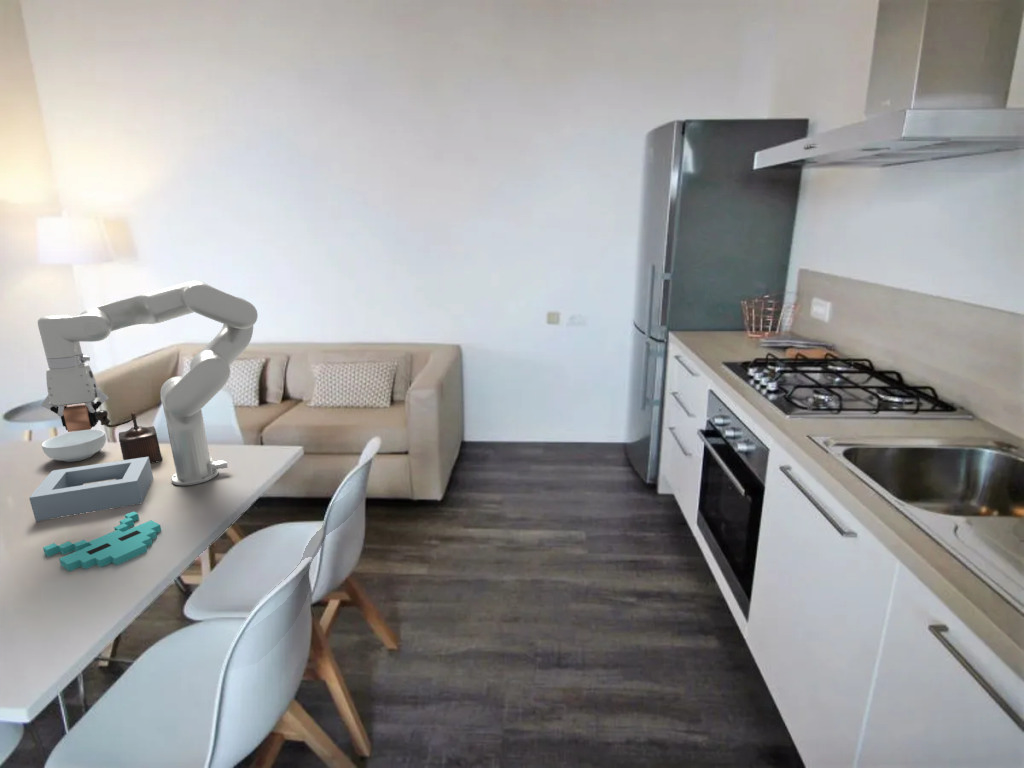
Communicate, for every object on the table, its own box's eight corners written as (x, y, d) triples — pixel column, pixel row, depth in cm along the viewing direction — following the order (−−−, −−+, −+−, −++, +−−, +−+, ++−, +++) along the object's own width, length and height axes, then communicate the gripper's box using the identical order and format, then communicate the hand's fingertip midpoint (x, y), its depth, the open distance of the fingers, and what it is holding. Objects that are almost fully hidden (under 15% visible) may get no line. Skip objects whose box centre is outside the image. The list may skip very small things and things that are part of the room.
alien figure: (45, 555, 134) (83, 582, 124) (42, 547, 133) (81, 573, 123) (135, 518, 150) (176, 539, 140) (133, 511, 150) (174, 531, 139)
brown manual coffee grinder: (159, 450, 194) (149, 400, 189) (163, 461, 185) (152, 409, 180) (105, 461, 185) (92, 410, 180) (105, 473, 177) (93, 419, 172)
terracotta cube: (95, 423, 157) (90, 403, 155) (90, 429, 152) (85, 408, 151) (74, 426, 155) (68, 405, 153) (68, 432, 151) (62, 410, 149)
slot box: (153, 477, 173) (148, 456, 171) (141, 503, 157) (136, 480, 155) (57, 492, 164) (52, 470, 162) (35, 521, 148) (29, 497, 146)
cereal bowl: (108, 443, 201) (104, 425, 199) (110, 458, 188) (105, 439, 186) (47, 455, 191) (42, 436, 189) (45, 472, 178) (39, 451, 176)
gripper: (108, 355, 155) (121, 418, 160) (31, 362, 149) (48, 427, 154) (100, 362, 148) (115, 426, 153) (20, 369, 142) (38, 436, 147)
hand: (81, 426), depth 154 cm, fingers closed on terracotta cube, 5 cm apart
